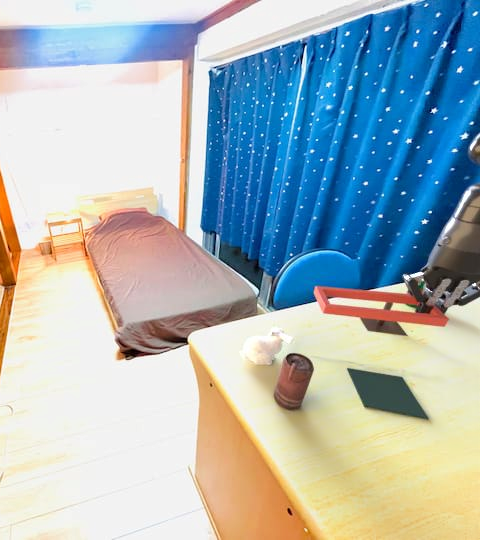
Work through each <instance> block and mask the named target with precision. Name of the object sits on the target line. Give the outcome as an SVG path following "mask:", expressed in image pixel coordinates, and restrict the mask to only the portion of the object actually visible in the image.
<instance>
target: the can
mask: <svg viewBox="0 0 480 540" xmlns="http://www.w3.org/2000/svg"><path fill="white" fill-rule="evenodd" d="M280 366H281V367H280V370H279V373H278V377H277V380H276V384H275V387H274V391H273V398H274V400H275V402H276V404H277V405H279V407H281V408H282V409H284V410H288V411H291V412H292V411H297V410H299V409H301V407H302V404H303V402H304V400H305V396H306V393H307V391H308V388H309V385H310V382H311V380H312V377H313V374H314V370H315V367H314V363H313V362H312V360H311V359H310V358H309V357H307V356H306V355H304V354H302V353H297V352H290V353H288V354H286V356H284V357H283V359H282V362H281V365H280Z"/></svg>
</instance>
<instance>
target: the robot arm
mask: <svg viewBox="0 0 480 540" xmlns="http://www.w3.org/2000/svg"><path fill="white" fill-rule="evenodd" d="M467 157H468V159H469V160H470V161H471V163H473V164H475V165H477V166H480V132H478V133H477V134H476V135H475V136H474V137H473V139H472V140H471V141H470V143H469V145H468V147H467ZM401 277H402V279H403V282H404V284H405V287H406V289H407V291H409V293H410V295H411V296H412V297H413V298H414V299H415V300H416V301H417V302H419V304H418V306H417V308H415V309H414V313H424V314H430V312H431V310H432V309H433V307H434V306H433V305H435V306H436V307H437V308H438V309H439V310H440V311H441V312H442V313H443V314H444V315H446V313H447V311H448V309H449V308H451V307H453V306H459V307H464V306H466V305H468V304H470V303H472V302H473V301H475V300H477V299H480V182H476V183H472V184H470V185H468V187H466V189H464V191H463V193H462V195H461V197H460V199H459V200H458V203H457V205H456V207H455V208H454V210H453V212H452V214H451V216H450V218H449V220H448V221H447V222H446V223H445V225H444V226H443V227H442V230H441V232H440V234H439V236H438V237H437V240H436V242H435V245H434V246H433V248H432V250H431V252H430V254H429V256H428V258H427V263H426V265H425V266H423V267H422V268H421V269H420V271H419V272H416V273H413V274H410V273H404V274H402V276H401ZM422 279H424V281H425V284H424V286H423V292H421V290H420V288H419V286H418V285H421V280H422Z"/></svg>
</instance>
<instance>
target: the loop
mask: <svg viewBox="0 0 480 540" xmlns="http://www.w3.org/2000/svg"><path fill="white" fill-rule="evenodd" d="M313 294H314V297H315V299H316V301H317V303H318V306H319V307H320V310H321V313H322V314H323V315H325V314H326V315H334V316H341V317H343V316H344V317H351V318H359V319H360V318H368V319H377V320H386V321H395V322H398V323H403V324H404V323H406V324H412V325H413V324H415V325H423V326H431V327H440V328H441V327H442V328H445V327H446V325H447V324H448V322H449V321H450V318H449V317H448V316H446V314H443V313H442V312H441V311H440V310H439V309H438V308H437V307H436V306H435V305H433V306H434V307H433V309H432V310H431V312H430V314H424V313H415V311H414V312H413V311H406V310H405V311H403V310H394V309H391V310H385V309H383V308H376V307H375V308H374V307H364V306H356V305H355V306H353V305H345V304H335V303H331V302H330V300H329V299H328V298H338V299H349V300H350V299H351V300H357V301H369V302H370V301H372V302H378V303H379V302H380V303H381V302H382V303H386V302H390V303H393V304H401V305H406V304H411V305H417V306H418V304H419V302H417V301H416V300H415V299H414V298H413V297H412V296H411V295H410V294H406V293H402V292H390V291H379V290H366V289H354V288H345V287H333V286H332V287H331V286H320V285H315V286H314V290H313Z"/></svg>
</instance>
